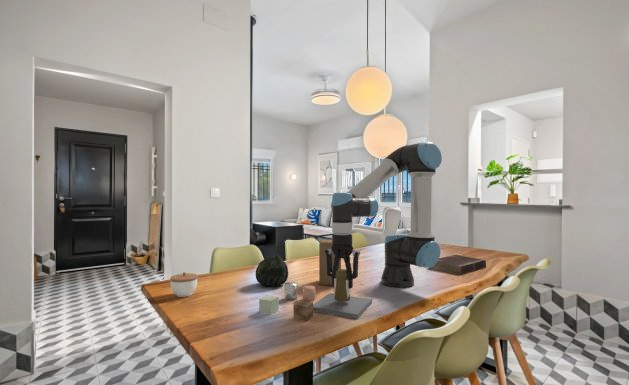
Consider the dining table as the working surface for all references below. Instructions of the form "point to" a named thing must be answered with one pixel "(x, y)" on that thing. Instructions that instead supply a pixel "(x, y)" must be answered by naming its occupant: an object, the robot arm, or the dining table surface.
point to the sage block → (268, 304)
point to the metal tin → (291, 291)
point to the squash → (272, 271)
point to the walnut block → (303, 310)
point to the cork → (341, 286)
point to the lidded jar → (184, 284)
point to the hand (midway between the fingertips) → (342, 295)
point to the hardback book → (458, 264)
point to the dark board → (342, 306)
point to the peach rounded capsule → (308, 293)
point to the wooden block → (325, 262)
